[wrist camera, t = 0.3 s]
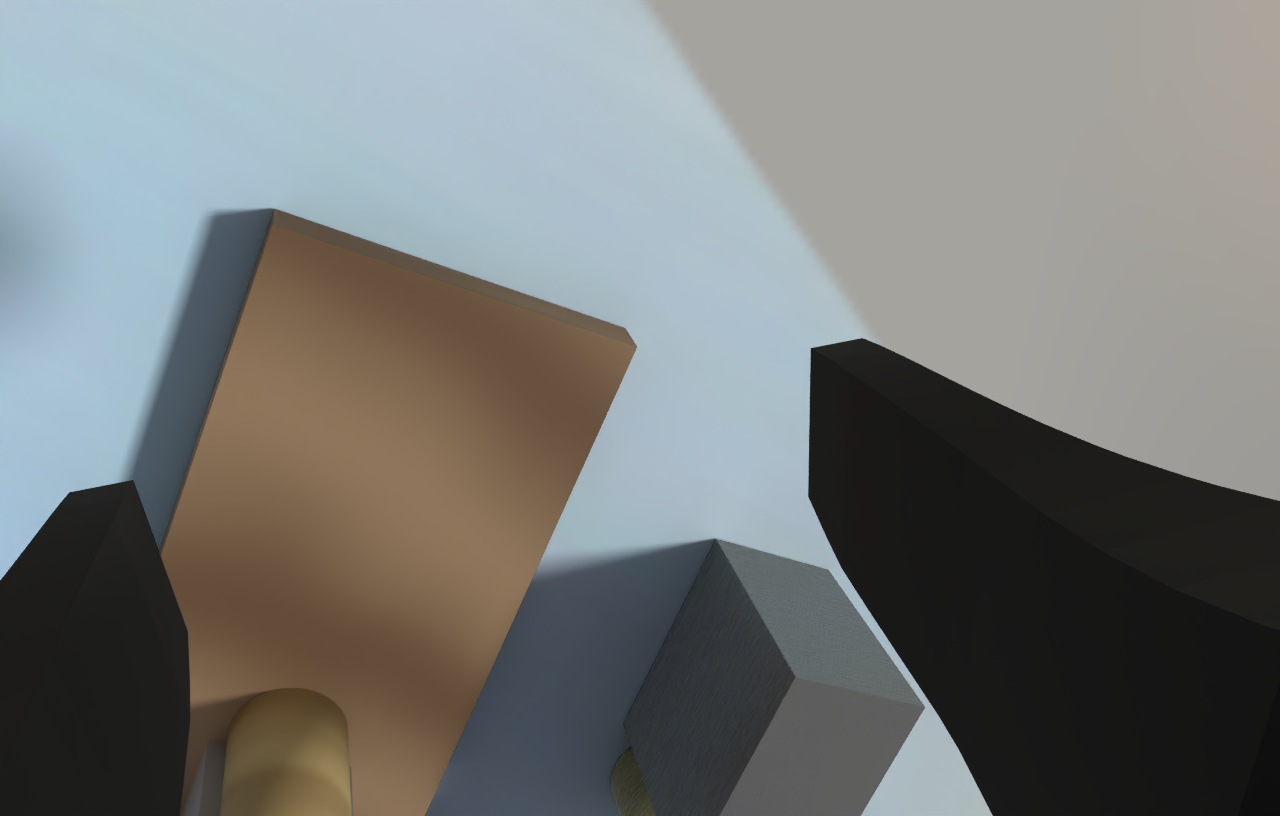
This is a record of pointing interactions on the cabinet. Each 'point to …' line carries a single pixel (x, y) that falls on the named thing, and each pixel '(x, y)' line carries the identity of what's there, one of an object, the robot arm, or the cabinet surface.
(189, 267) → the cabinet surface
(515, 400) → the hinge jig
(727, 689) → the grey post
